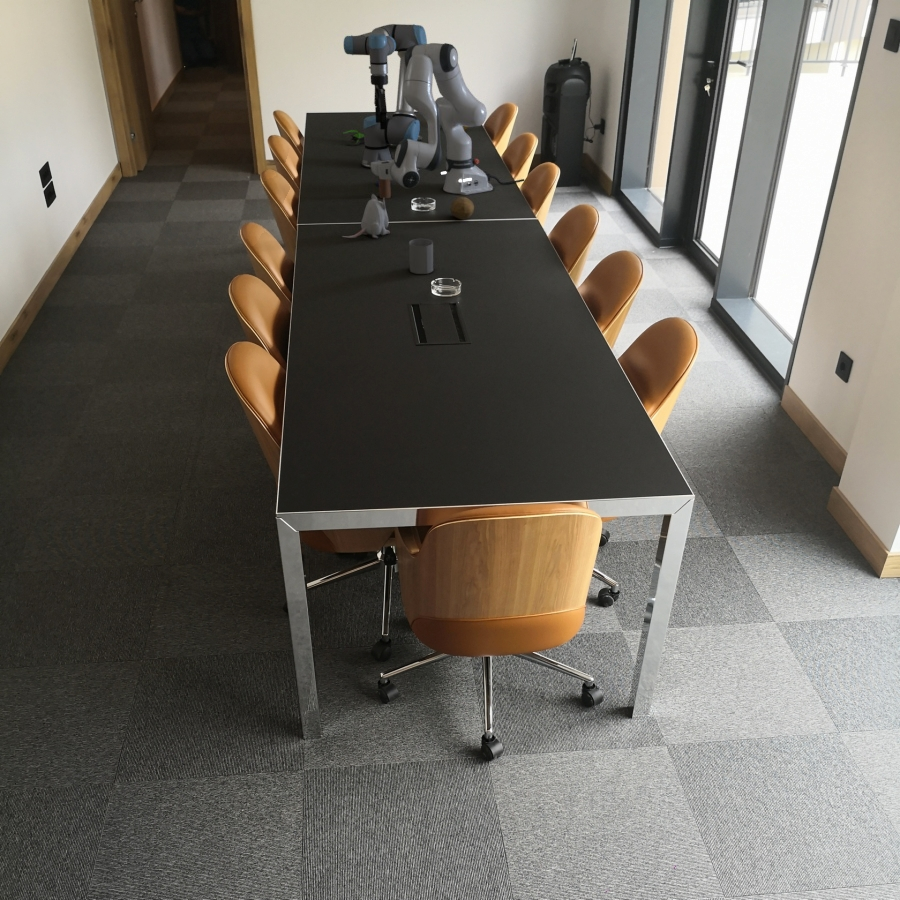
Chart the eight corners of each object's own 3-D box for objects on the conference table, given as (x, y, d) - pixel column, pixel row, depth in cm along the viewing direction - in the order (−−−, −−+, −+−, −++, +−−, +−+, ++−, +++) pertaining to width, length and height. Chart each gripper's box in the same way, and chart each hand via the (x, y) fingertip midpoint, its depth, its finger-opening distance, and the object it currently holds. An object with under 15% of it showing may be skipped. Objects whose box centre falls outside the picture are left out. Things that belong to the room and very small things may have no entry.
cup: (409, 265, 311) (408, 238, 306) (432, 265, 312) (431, 238, 307) (410, 274, 304) (409, 246, 299) (433, 273, 305) (433, 246, 299)
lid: (386, 187, 396) (386, 183, 395) (374, 186, 397) (374, 182, 396) (392, 183, 400) (391, 180, 399) (380, 182, 402) (379, 179, 401)
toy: (395, 233, 341) (394, 195, 333) (350, 248, 327) (348, 209, 318) (380, 228, 346) (378, 190, 338) (334, 242, 332) (332, 203, 324)
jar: (378, 195, 385) (377, 160, 377) (390, 194, 386) (388, 159, 377) (379, 198, 381) (378, 163, 372) (391, 198, 381) (390, 162, 373)
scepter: (398, 127, 467) (342, 124, 464) (398, 142, 460) (341, 139, 457) (398, 136, 472) (342, 134, 469) (398, 151, 464) (341, 149, 462)
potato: (472, 212, 364) (472, 193, 359) (475, 223, 352) (475, 203, 348) (449, 213, 363) (449, 193, 359) (451, 223, 351) (451, 204, 347)
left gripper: (366, 69, 383) (368, 120, 395) (374, 79, 363) (376, 132, 374) (383, 69, 384) (385, 119, 396) (392, 79, 364) (394, 131, 375)
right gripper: (423, 159, 355) (413, 151, 366) (375, 164, 349) (366, 155, 360) (424, 175, 358) (414, 166, 369) (376, 179, 353) (367, 171, 363)
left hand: (381, 125), depth 385 cm, fingers open, 13 cm apart
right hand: (390, 161), depth 365 cm, fingers open, 8 cm apart
